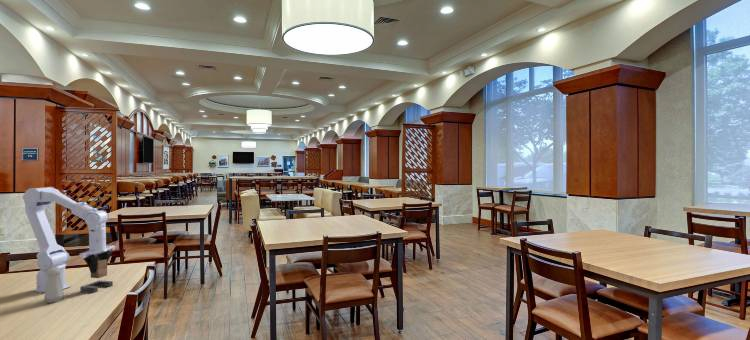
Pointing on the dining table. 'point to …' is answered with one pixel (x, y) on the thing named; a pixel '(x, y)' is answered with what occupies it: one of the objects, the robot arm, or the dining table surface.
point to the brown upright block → (100, 269)
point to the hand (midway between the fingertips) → (98, 270)
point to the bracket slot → (95, 286)
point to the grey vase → (53, 286)
